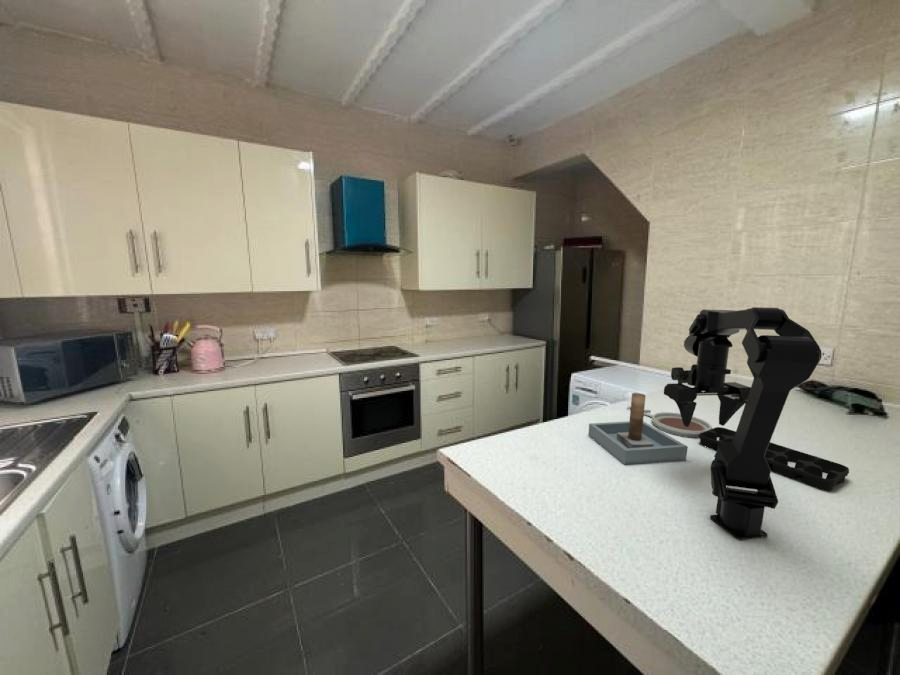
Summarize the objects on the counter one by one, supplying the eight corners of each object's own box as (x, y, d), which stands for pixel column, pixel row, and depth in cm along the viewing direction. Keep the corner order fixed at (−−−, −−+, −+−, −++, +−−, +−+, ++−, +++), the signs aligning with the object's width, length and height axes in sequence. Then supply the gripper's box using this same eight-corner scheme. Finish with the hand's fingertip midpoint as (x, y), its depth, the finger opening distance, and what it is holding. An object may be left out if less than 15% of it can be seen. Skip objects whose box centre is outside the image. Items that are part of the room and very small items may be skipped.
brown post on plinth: (652, 450, 99) (658, 399, 97) (632, 451, 99) (637, 399, 97) (635, 438, 107) (640, 390, 105) (616, 439, 107) (620, 390, 104)
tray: (685, 460, 96) (687, 446, 95) (624, 465, 93) (625, 450, 93) (641, 432, 113) (642, 420, 113) (588, 435, 111) (589, 423, 110)
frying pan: (642, 400, 138) (724, 424, 114) (641, 407, 139) (723, 433, 114) (612, 407, 131) (693, 434, 106) (611, 415, 131) (692, 444, 106)
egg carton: (845, 500, 80) (848, 484, 79) (690, 451, 102) (691, 439, 101) (848, 473, 91) (851, 459, 90) (708, 434, 113) (709, 423, 113)
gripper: (719, 355, 93) (712, 412, 95) (652, 356, 91) (646, 414, 94) (760, 365, 82) (750, 429, 84) (684, 366, 80) (676, 432, 83)
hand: (703, 425), depth 87 cm, fingers open, 9 cm apart
